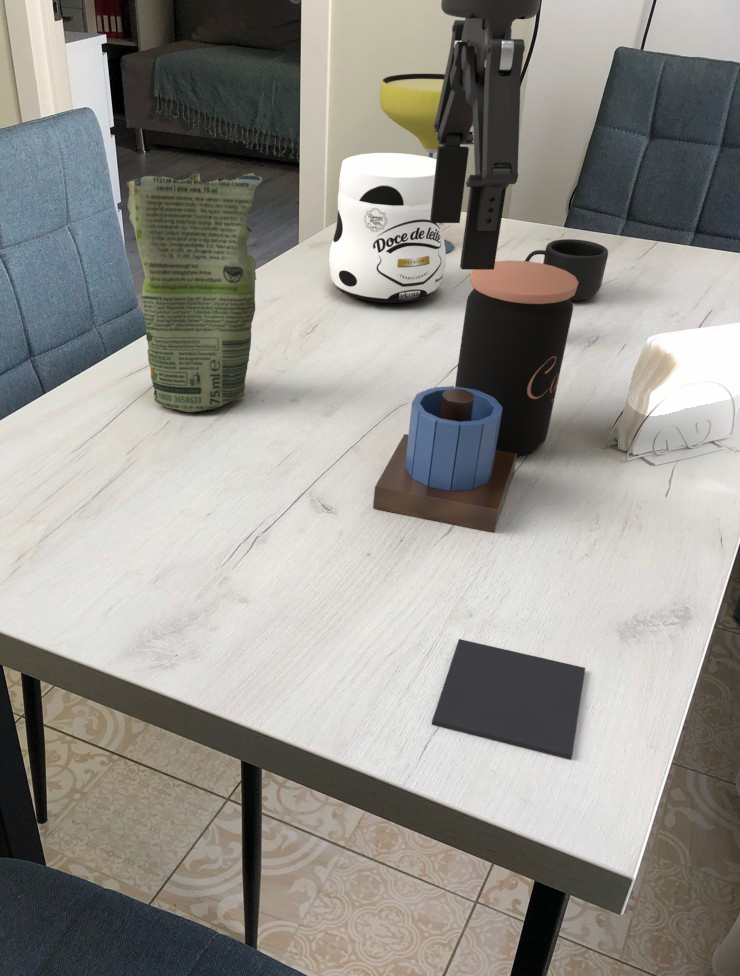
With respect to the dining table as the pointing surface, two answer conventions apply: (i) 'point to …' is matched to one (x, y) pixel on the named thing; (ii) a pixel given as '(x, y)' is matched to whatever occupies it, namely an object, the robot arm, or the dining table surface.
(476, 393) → the ring
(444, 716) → the mat
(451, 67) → the robot arm
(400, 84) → the cocktail glass
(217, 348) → the pouch
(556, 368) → the coffee jar
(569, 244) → the mug
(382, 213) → the doce de leite jar
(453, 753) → the dining table surface
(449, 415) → the stand
